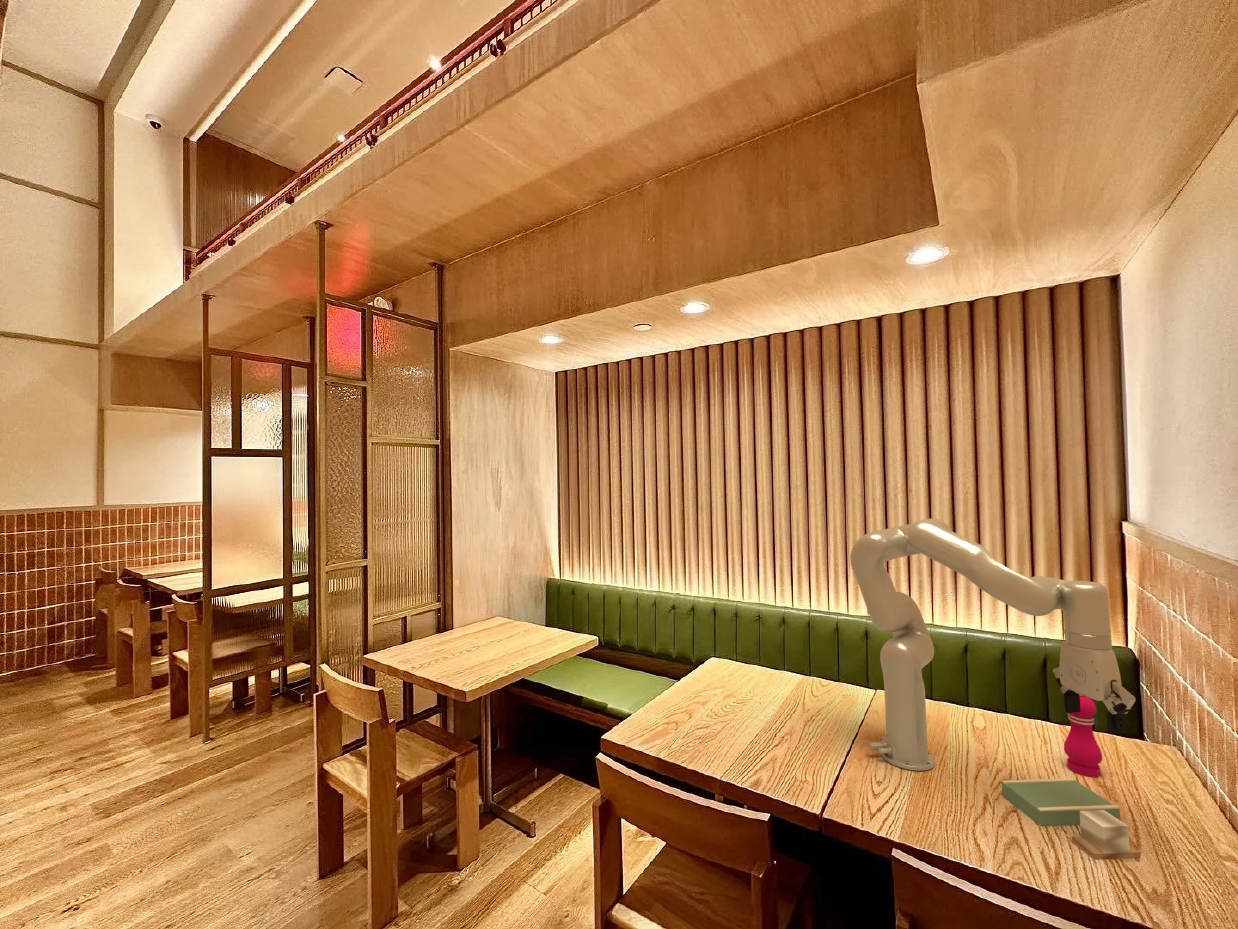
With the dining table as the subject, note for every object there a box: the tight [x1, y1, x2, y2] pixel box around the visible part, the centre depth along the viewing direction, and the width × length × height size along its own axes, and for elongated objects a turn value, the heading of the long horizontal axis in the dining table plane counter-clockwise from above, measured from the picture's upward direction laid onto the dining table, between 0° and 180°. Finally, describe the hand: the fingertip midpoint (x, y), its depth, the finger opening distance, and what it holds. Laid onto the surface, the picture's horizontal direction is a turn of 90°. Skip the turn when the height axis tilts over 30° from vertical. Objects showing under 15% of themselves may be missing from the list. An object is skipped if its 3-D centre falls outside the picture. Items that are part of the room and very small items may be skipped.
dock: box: [1001, 777, 1121, 827], centre depth 117 cm, size 17×11×3 cm, turn 91°
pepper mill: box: [1063, 692, 1103, 778], centre depth 132 cm, size 7×7×20 cm
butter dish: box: [1070, 810, 1141, 860], centre depth 104 cm, size 9×5×6 cm, turn 91°
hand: (1093, 722), depth 112 cm, fingers open, 9 cm apart
